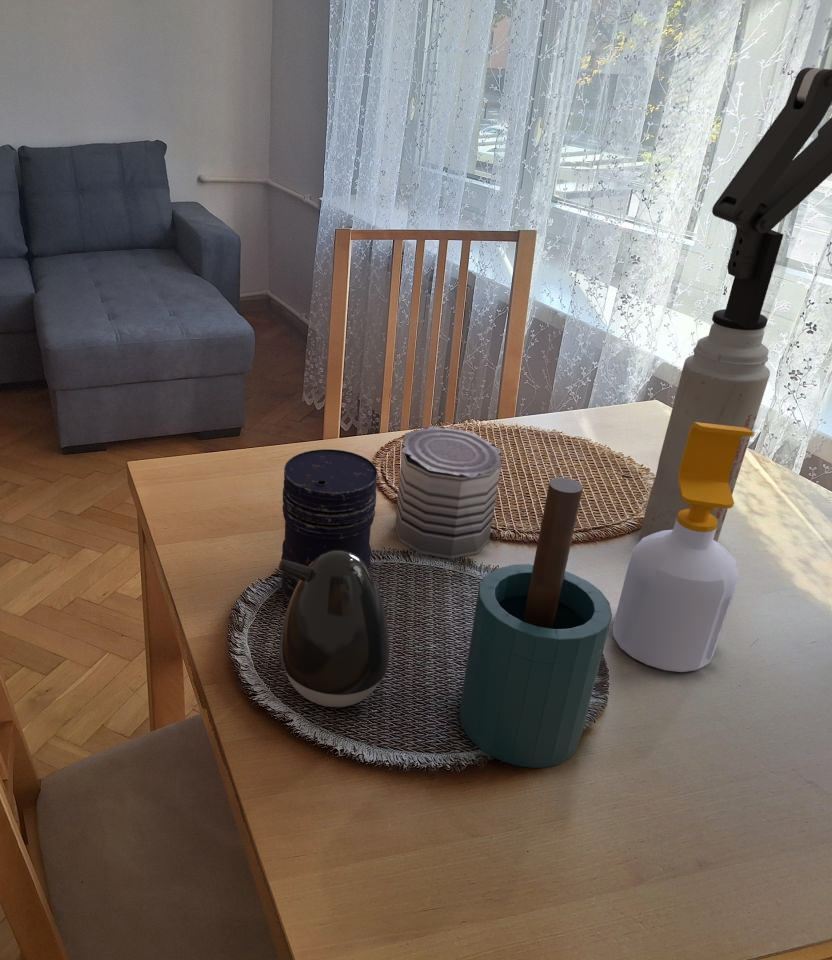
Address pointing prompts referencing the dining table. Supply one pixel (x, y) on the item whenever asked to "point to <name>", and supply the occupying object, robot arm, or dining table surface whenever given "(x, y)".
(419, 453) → the can
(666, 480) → the thermos bottle
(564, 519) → the round mallet
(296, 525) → the storage jar
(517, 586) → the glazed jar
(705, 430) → the soap bottle
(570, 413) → the dining table surface
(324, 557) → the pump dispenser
